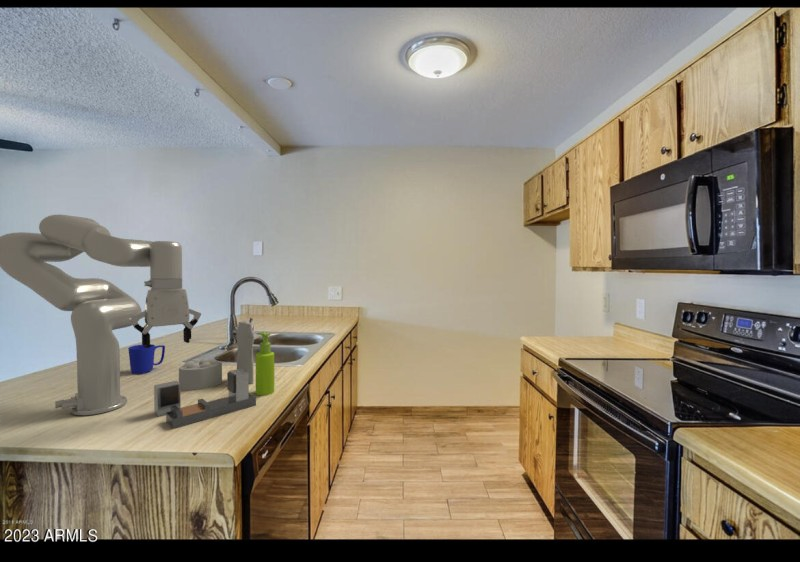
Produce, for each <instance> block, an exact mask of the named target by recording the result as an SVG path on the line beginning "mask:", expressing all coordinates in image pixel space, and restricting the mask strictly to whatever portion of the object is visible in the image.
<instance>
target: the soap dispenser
mask: <svg viewBox="0 0 800 562" xmlns="http://www.w3.org/2000/svg"><path fill="white" fill-rule="evenodd" d="M256 335H260V336H262V342H259V352H257V353H255V395H257V396H268V395H271V394H273V393H275V352H274V351H271V346H272V345H271V344H272V343H271V342H269V337H270V336H271V334H270V333H269V332H266V331H262V332H261V331H260V332H257V333H256Z"/></svg>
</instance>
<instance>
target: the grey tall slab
mask: <svg viewBox="0 0 800 562" xmlns="http://www.w3.org/2000/svg"><path fill="white" fill-rule="evenodd" d="M235 332H236V338H235V339H236V346H237V347H236V349H237V350H236V351H237V357H236V369H242V370H244V371H246V372H248V373H249V385H253V384H254V382H255V381H254V343H255V333H254V331H253V324H252V323H251V322H248V321H246V320H245V321H244V320H243V321H238V326H237V329H236V331H235Z"/></svg>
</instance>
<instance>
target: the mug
mask: <svg viewBox="0 0 800 562" xmlns="http://www.w3.org/2000/svg"><path fill="white" fill-rule="evenodd" d="M158 348H161V350H162V351H161V357H160V360H159V361H158V362H156V363H155V351H156V349H158ZM127 349H128V356H129V359H128V360H129V367H130V373H132V374H134V375H140V374H141V375H142V374H147V373H150V372H152V371H153V368H154V366H159V365H161V364H162V363H163V362H164V358H165V354H166V353H165V352H166V345H163V344H162V345H161V344H160V345H159V344H158V345H154V344H151V343H150V348H146V347H145V346H144V345H142V344H137V345H132V346H129V347H128V348H127Z"/></svg>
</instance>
